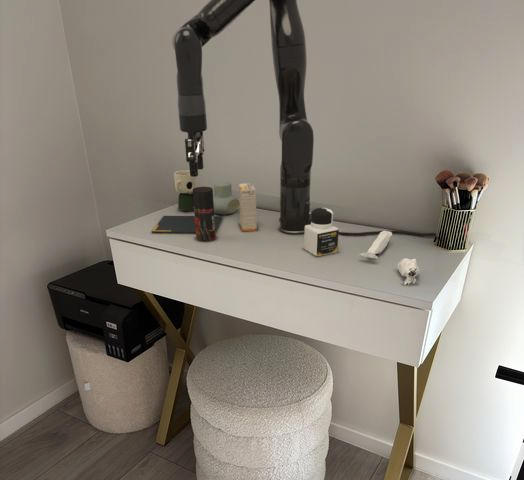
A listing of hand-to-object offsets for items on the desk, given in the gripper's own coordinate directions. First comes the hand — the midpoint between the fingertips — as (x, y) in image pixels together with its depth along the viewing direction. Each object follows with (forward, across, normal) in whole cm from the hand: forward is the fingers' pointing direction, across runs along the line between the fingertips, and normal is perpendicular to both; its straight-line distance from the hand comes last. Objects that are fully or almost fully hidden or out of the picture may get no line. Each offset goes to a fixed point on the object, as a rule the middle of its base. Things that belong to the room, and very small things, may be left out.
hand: (197, 172), depth 155 cm
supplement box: (+20, +10, -13) cm, 26 cm away
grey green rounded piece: (+20, +25, -3) cm, 32 cm away
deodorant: (+20, -1, -1) cm, 20 cm away
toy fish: (+20, -11, -52) cm, 57 cm away
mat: (+20, +11, +7) cm, 24 cm away
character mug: (+20, +27, +10) cm, 35 cm away
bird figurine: (+20, -27, -58) cm, 67 cm away
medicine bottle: (+20, -10, -36) cm, 43 cm away
